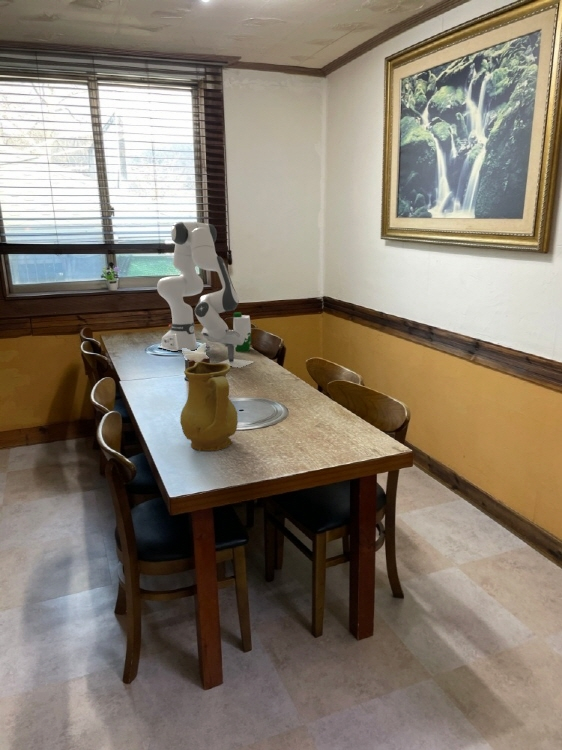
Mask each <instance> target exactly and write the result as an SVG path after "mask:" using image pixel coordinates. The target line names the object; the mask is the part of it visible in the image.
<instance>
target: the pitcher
mask: <svg viewBox="0 0 562 750" xmlns="http://www.w3.org/2000/svg"><path fill="white" fill-rule="evenodd" d="M231 368H232V367H230V365H229V364H226V363H220V362H217V363H209V362H205V361H198V362H195V363H194V365H193V366H190V367H187V368H186V369H184V370H183V373H184V375H185V376H186V377H187V379H188V380H187V381H188V394H187V399H186V402H185V404H184V406H183V408H182V410H181V412H180V417H179V419H180V420H179V421H180V426H181V431H182V433H183V435H184V436H185V438H186V439H187V440H190V441H191V442H190V446H191V448H192V450H196V451H200V452H201V451H202V452H210V451H214V452H215V451H216V452H217V451H219V450H224V449H226V448H227V447H229V446H231V444H232V443H233V441H232V438H230V437H231V436H234V435H236V432H237V429H238V411H237V408H236V405H235V404H234V402H233V401H231V399H230V398H229V395H230V384H229V380H228V379H227V375H228V372H229V371H231Z"/></svg>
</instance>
